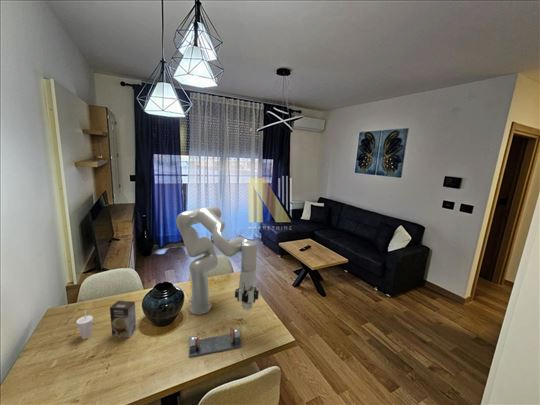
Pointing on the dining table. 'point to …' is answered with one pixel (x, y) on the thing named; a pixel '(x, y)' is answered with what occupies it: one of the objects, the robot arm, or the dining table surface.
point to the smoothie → (85, 325)
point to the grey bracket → (214, 343)
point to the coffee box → (123, 318)
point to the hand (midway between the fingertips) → (247, 298)
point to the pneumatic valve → (252, 297)
